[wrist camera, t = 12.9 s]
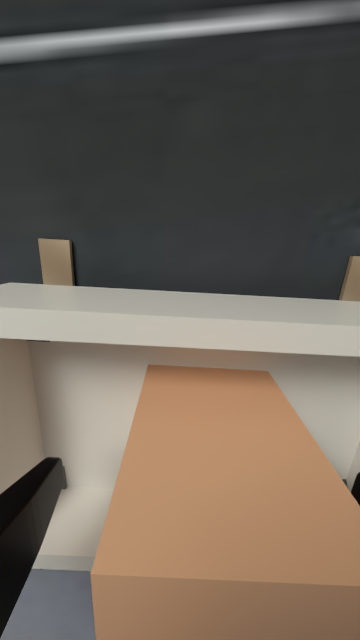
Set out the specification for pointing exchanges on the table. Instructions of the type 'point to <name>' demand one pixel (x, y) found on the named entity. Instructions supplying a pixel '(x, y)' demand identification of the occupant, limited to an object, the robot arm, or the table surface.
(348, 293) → the track
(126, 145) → the table surface
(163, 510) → the part block
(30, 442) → the white open storage bin
